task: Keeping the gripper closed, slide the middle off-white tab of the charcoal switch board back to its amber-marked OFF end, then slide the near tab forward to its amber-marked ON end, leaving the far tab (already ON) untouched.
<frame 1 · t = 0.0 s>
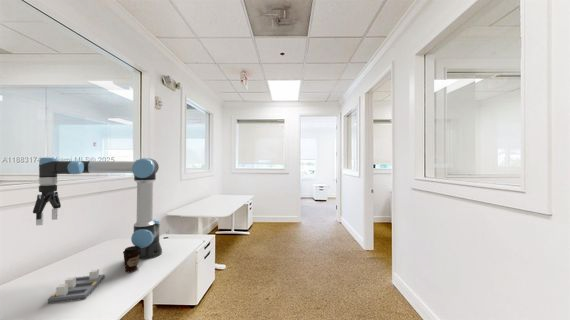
hand: (47, 222, 140), 28 cm above the table, fingers open, 13 cm apart
coffee cup: (131, 270, 142), on the table
tab B: (70, 283, 120), point 4 cm above the table, slide at 7.0 cm
switch board: (79, 289, 121), on the table
tab C: (62, 290, 113), point 4 cm above the table, slide at 7.0 cm
tab A: (94, 275, 129), point 4 cm above the table, slide at 0.0 cm
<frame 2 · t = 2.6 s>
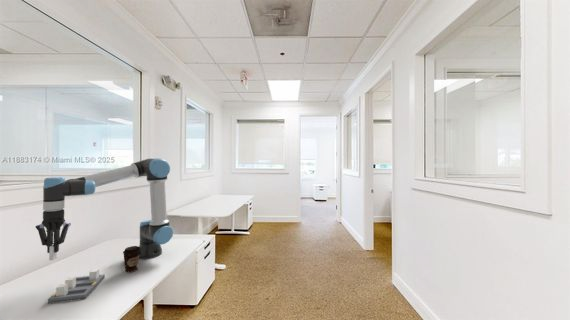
hand: (52, 259, 118), 16 cm above the table, fingers closed
nothing on the table moved.
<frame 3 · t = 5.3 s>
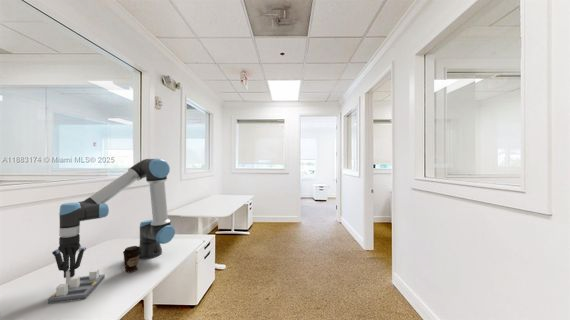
hand: (69, 283, 120), 3 cm above the table, fingers closed
tab B: (74, 282, 120), point 4 cm above the table, slide at 5.4 cm, touching gripper
everything else where it was.
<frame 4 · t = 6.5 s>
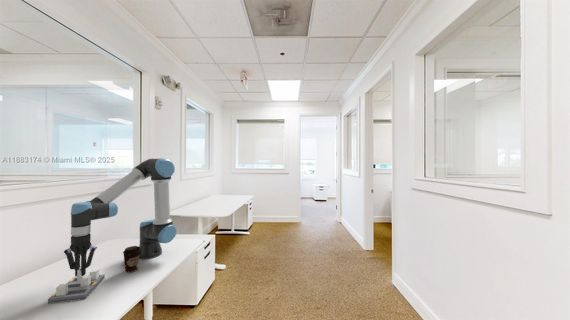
hand: (80, 282, 121), 3 cm above the table, fingers closed
tab B: (85, 281, 122), point 4 cm above the table, slide at 0.8 cm, touching gripper
everything else where it was.
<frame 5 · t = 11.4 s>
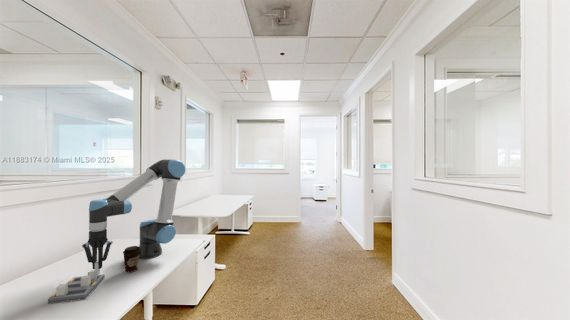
hand: (97, 274, 129), 4 cm above the table, fingers closed
tab B: (85, 281, 122), point 4 cm above the table, slide at 0.8 cm
tab A: (92, 275, 128), point 4 cm above the table, slide at 0.8 cm, touching gripper
everything else where it was.
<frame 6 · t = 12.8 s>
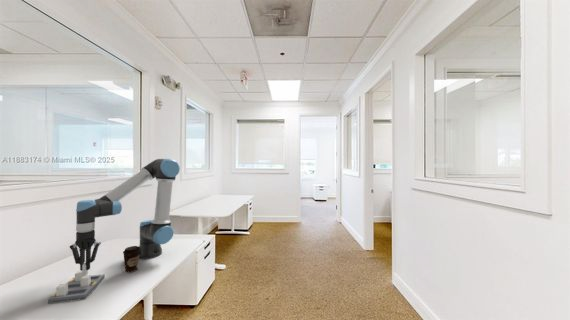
hand: (85, 276, 127), 3 cm above the table, fingers closed
tab A: (79, 276, 127), point 4 cm above the table, slide at 6.2 cm, touching gripper
everything else where it was.
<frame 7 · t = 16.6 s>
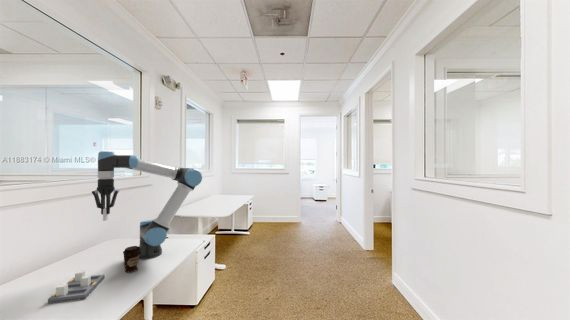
hand: (105, 219, 140), 29 cm above the table, fingers closed
tab A: (79, 276, 127), point 4 cm above the table, slide at 6.2 cm
everything else where it was.
at the end: tab A slide at 6.2 cm; tab B slide at 0.8 cm; tab C slide at 7.0 cm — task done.
